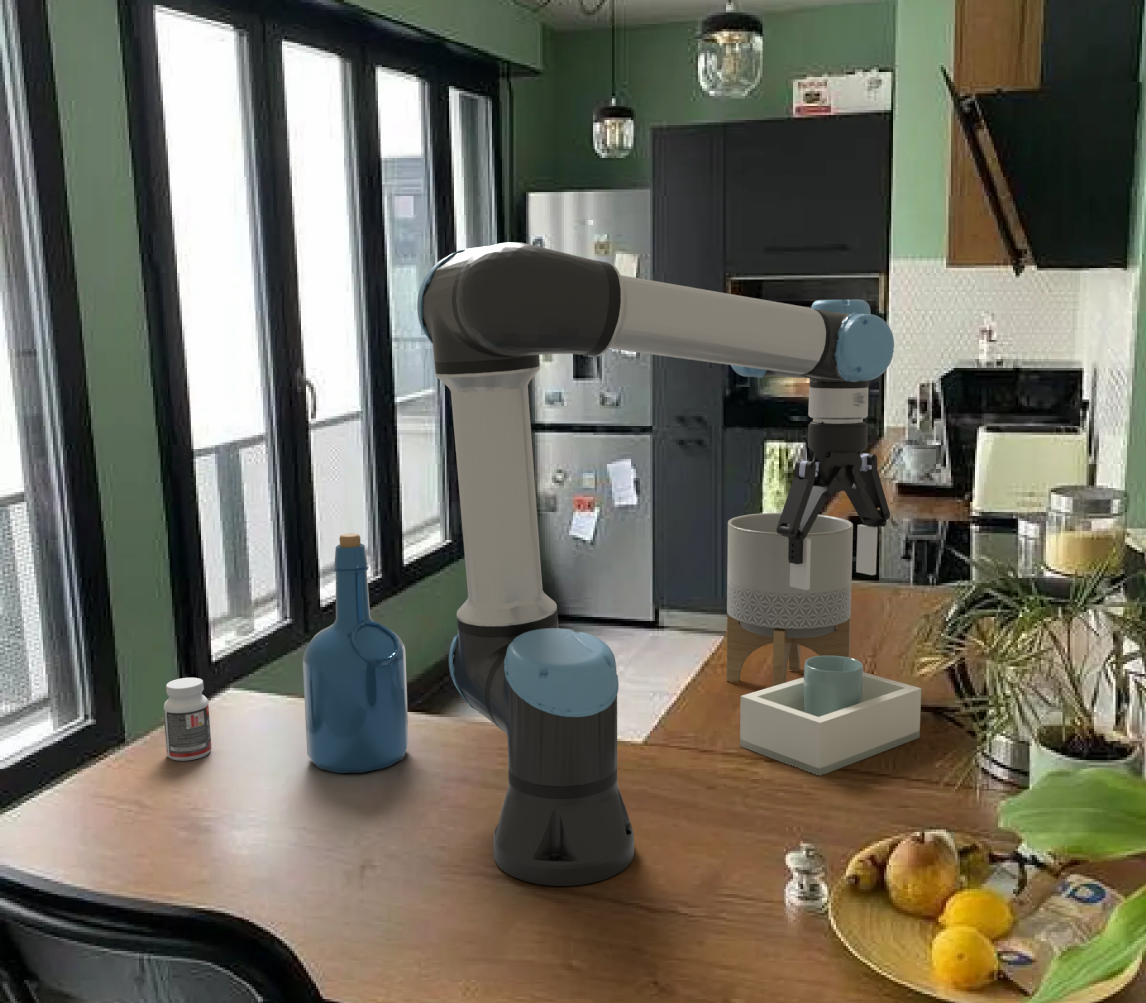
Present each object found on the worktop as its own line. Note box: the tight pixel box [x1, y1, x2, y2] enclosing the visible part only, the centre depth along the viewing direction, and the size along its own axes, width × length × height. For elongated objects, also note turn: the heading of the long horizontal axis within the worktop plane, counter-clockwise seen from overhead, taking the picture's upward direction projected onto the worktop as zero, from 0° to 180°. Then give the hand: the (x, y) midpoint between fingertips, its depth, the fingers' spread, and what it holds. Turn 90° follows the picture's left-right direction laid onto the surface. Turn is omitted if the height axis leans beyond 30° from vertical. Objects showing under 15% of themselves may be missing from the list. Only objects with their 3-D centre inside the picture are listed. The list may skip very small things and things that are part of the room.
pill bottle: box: [163, 677, 212, 762], centre depth 151 cm, size 6×6×10 cm
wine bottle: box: [302, 533, 409, 774], centre depth 148 cm, size 14×13×30 cm
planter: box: [726, 512, 854, 687], centre depth 176 cm, size 19×19×26 cm
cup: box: [803, 655, 864, 717], centre depth 153 cm, size 8×8×10 cm
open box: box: [739, 671, 922, 777], centre depth 153 cm, size 21×14×7 cm, turn 128°
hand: (833, 580), depth 150 cm, fingers open, 13 cm apart
